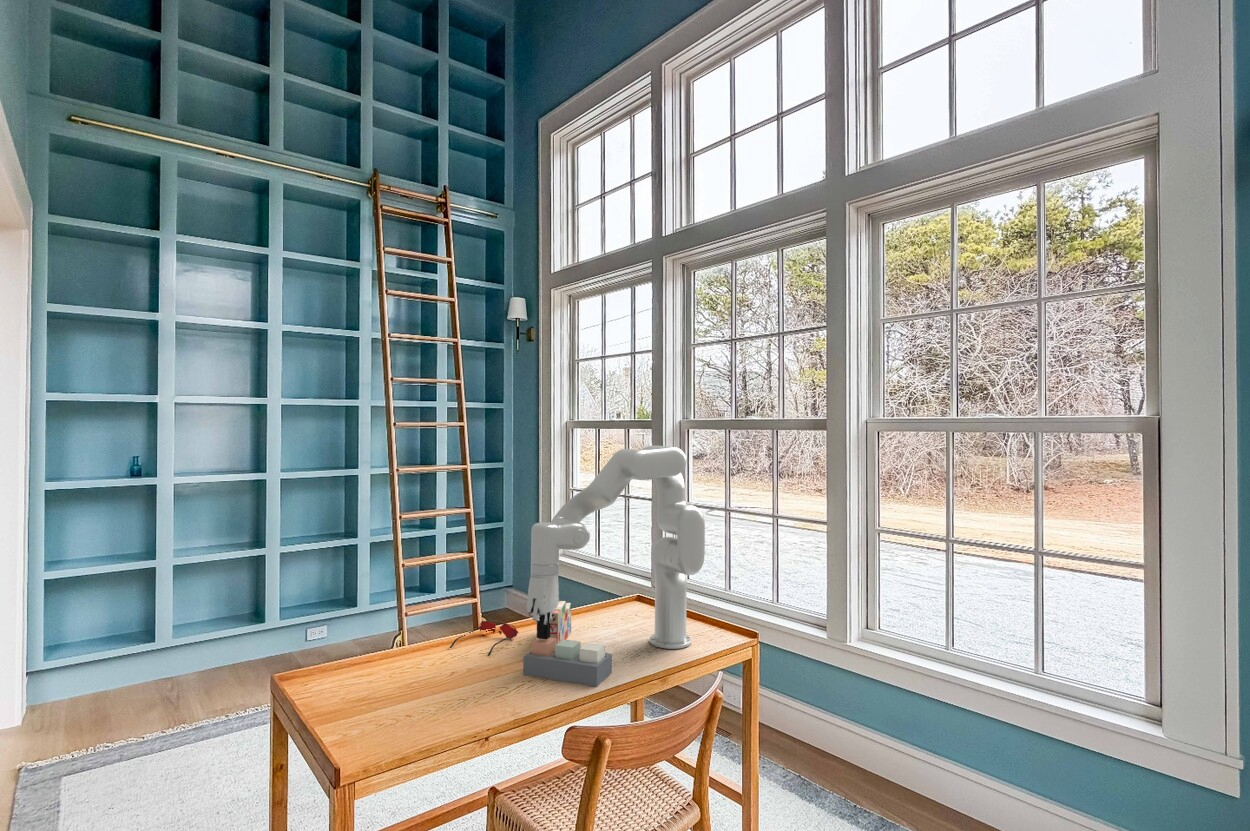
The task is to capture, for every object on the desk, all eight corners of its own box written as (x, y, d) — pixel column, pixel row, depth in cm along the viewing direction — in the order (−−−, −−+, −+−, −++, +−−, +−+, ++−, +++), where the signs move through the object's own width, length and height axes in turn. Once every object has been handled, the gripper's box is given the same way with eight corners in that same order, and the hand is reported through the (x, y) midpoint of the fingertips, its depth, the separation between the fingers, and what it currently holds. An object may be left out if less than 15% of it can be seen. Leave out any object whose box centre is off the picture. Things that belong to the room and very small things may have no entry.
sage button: (563, 657, 178) (563, 639, 178) (580, 660, 177) (580, 641, 177) (555, 664, 174) (555, 645, 174) (572, 666, 172) (572, 647, 172)
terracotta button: (540, 654, 181) (540, 636, 181) (556, 657, 179) (556, 638, 179) (531, 660, 176) (531, 641, 176) (548, 663, 174) (548, 644, 174)
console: (541, 662, 184) (541, 643, 184) (611, 672, 176) (611, 653, 176) (523, 674, 174) (523, 655, 174) (596, 686, 167) (597, 666, 167)
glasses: (519, 640, 203) (519, 624, 203) (488, 658, 188) (488, 640, 188) (480, 634, 208) (480, 618, 208) (447, 651, 193) (447, 633, 193)
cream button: (587, 661, 176) (587, 642, 176) (604, 664, 174) (604, 644, 174) (579, 667, 171) (579, 648, 171) (597, 670, 170) (597, 651, 170)
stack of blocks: (552, 631, 211) (552, 592, 211) (571, 632, 210) (571, 593, 210) (536, 654, 190) (536, 611, 190) (557, 655, 189) (558, 612, 189)
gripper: (545, 562, 186) (544, 628, 186) (518, 573, 172) (517, 644, 172) (569, 565, 184) (568, 631, 183) (544, 576, 170) (543, 648, 169)
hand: (543, 637), depth 178 cm, fingers closed
